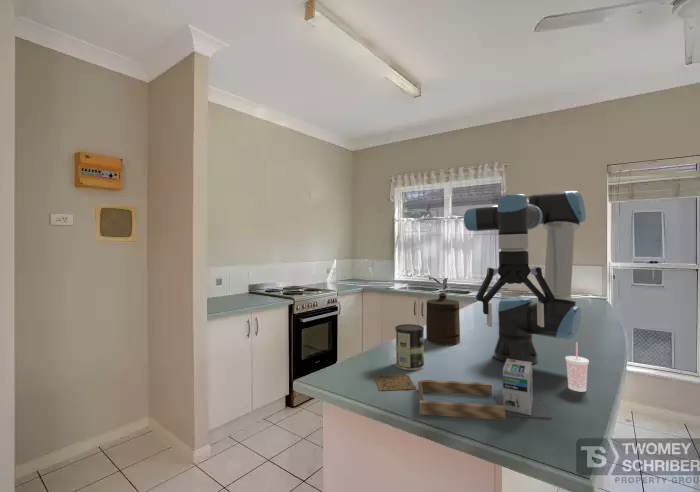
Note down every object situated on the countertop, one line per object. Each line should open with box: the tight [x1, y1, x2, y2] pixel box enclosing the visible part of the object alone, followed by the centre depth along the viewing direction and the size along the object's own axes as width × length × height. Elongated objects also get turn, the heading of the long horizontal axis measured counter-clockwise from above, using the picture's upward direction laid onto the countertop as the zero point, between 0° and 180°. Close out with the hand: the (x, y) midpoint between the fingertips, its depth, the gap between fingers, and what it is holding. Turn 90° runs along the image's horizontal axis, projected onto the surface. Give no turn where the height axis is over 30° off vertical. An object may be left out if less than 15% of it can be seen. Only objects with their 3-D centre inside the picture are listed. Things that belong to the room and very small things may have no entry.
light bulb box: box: [502, 359, 534, 415], centre depth 95 cm, size 11×7×11 cm, turn 150°
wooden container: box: [425, 292, 461, 346], centre depth 160 cm, size 15×15×22 cm
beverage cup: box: [565, 341, 590, 393], centre depth 106 cm, size 6×6×14 cm
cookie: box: [373, 374, 418, 392], centre depth 112 cm, size 12×12×1 cm
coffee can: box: [395, 323, 425, 371], centre depth 128 cm, size 10×10×14 cm
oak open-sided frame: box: [417, 378, 506, 421], centre depth 98 cm, size 21×16×3 cm
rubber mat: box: [493, 394, 552, 420], centre depth 95 cm, size 11×12×1 cm
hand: (514, 325), depth 98 cm, fingers open, 13 cm apart
